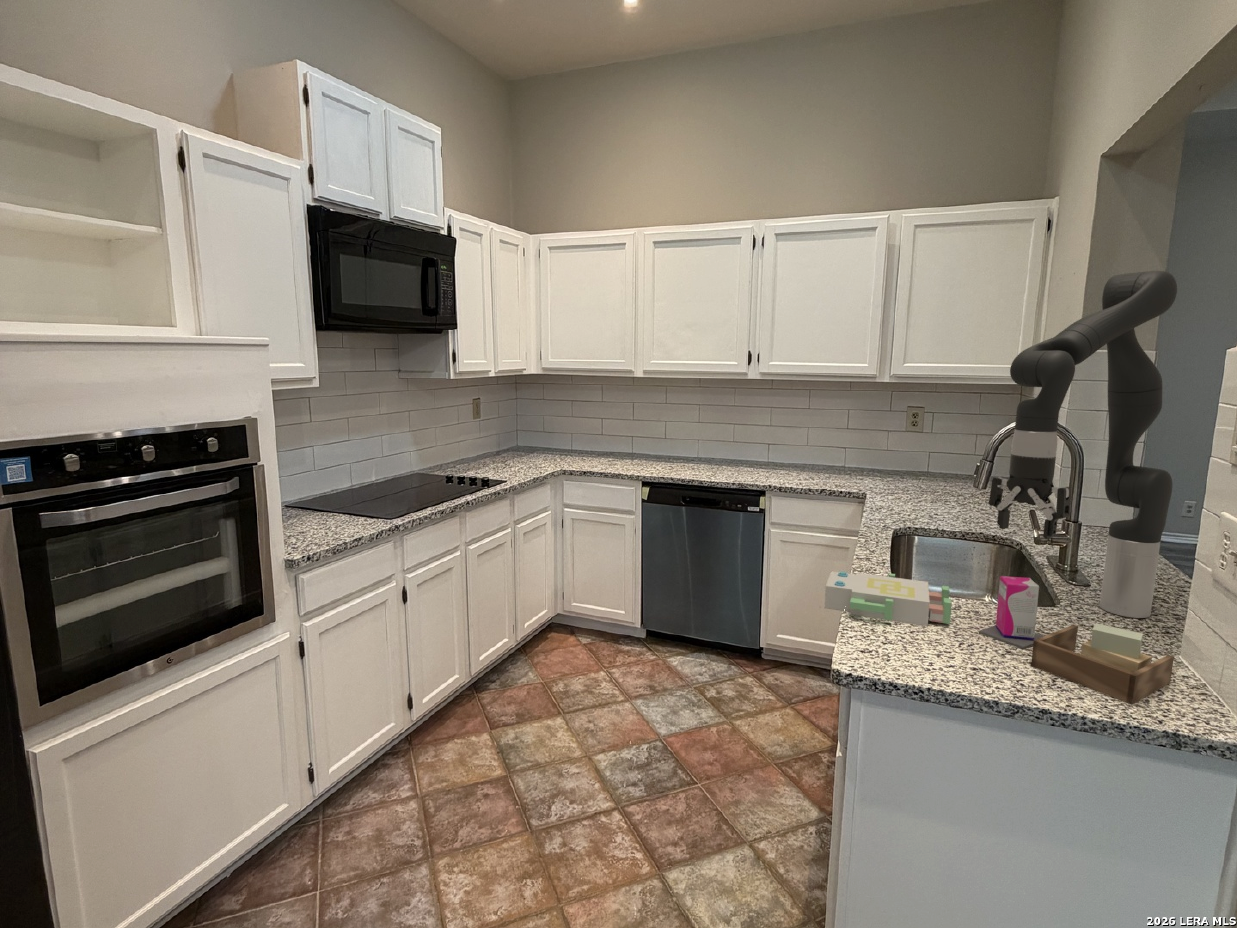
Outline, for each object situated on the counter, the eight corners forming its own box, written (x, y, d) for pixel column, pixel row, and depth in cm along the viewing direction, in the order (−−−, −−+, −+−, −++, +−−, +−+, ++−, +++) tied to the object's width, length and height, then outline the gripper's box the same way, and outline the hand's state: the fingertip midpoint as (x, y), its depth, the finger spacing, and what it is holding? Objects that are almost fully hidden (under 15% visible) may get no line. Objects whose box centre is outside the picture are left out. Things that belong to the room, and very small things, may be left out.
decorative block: (823, 588, 144) (833, 563, 162) (822, 616, 145) (831, 588, 163) (953, 606, 134) (948, 577, 152) (950, 636, 135) (946, 603, 153)
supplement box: (1025, 629, 136) (1031, 577, 134) (1034, 641, 131) (1040, 586, 129) (994, 626, 138) (999, 574, 136) (1002, 637, 132) (1007, 583, 130)
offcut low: (1093, 657, 125) (1095, 638, 124) (1149, 677, 117) (1152, 656, 117) (1079, 663, 123) (1082, 643, 122) (1135, 684, 115) (1138, 662, 114)
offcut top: (1093, 640, 123) (1095, 623, 123) (1140, 651, 119) (1143, 633, 118) (1090, 647, 120) (1092, 629, 120) (1138, 658, 116) (1140, 640, 115)
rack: (1070, 648, 128) (1073, 624, 128) (1170, 682, 115) (1174, 656, 114) (1030, 665, 121) (1033, 640, 120) (1132, 704, 107) (1135, 676, 107)
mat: (1003, 624, 140) (1003, 622, 140) (1047, 639, 132) (1047, 637, 132) (978, 633, 136) (979, 630, 135) (1023, 649, 128) (1023, 647, 128)
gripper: (1083, 456, 124) (1073, 538, 126) (1007, 447, 136) (1000, 523, 138) (1062, 459, 120) (1053, 544, 122) (986, 450, 132) (979, 527, 135)
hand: (1025, 532), depth 130 cm, fingers open, 8 cm apart
